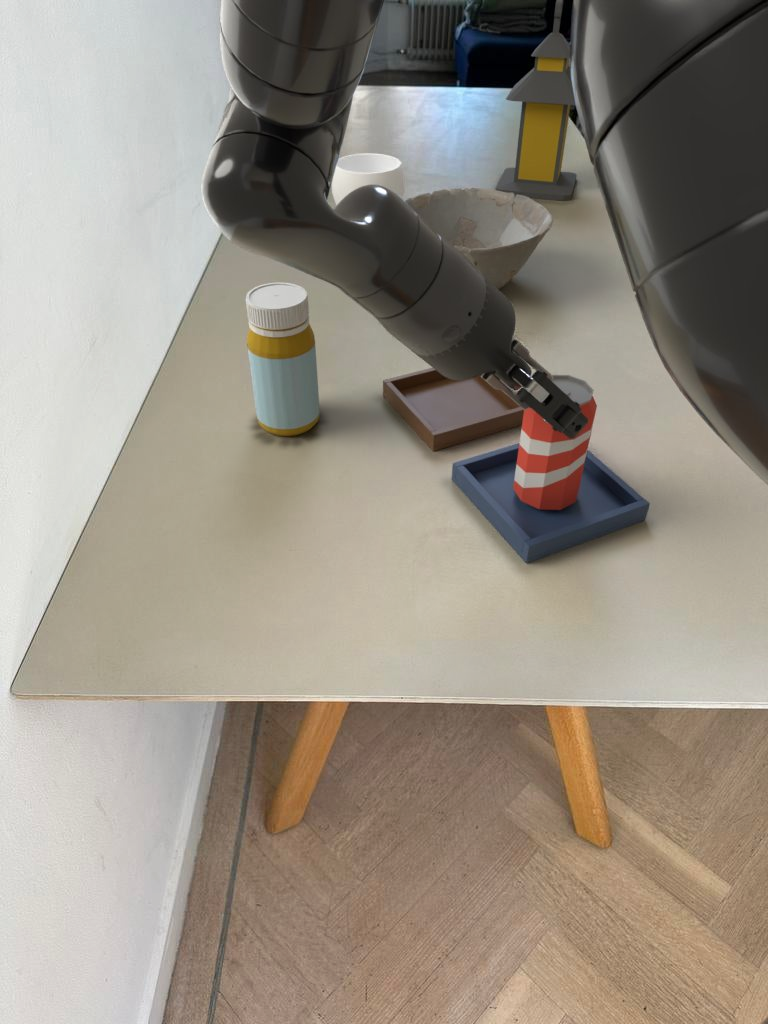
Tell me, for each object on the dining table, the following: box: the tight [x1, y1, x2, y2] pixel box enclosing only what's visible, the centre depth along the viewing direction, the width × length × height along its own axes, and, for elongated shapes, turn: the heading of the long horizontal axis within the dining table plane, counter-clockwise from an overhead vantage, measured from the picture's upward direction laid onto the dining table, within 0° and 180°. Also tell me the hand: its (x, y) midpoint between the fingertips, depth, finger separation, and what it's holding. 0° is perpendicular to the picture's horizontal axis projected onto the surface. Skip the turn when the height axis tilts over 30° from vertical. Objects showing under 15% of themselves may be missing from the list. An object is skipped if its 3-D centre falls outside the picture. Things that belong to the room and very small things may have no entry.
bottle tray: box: [382, 367, 524, 452], centre depth 87 cm, size 12×12×2 cm
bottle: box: [245, 281, 321, 437], centre depth 81 cm, size 7×7×15 cm
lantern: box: [495, 0, 577, 202], centre depth 136 cm, size 14×14×30 cm
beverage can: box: [513, 374, 598, 510], centre depth 71 cm, size 6×6×12 cm
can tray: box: [451, 442, 651, 564], centre depth 74 cm, size 14×14×2 cm
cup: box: [331, 152, 406, 207], centre depth 129 cm, size 12×12×10 cm
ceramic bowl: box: [404, 187, 553, 291], centre depth 110 cm, size 22×23×10 cm
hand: (549, 403), depth 67 cm, fingers open, 8 cm apart
